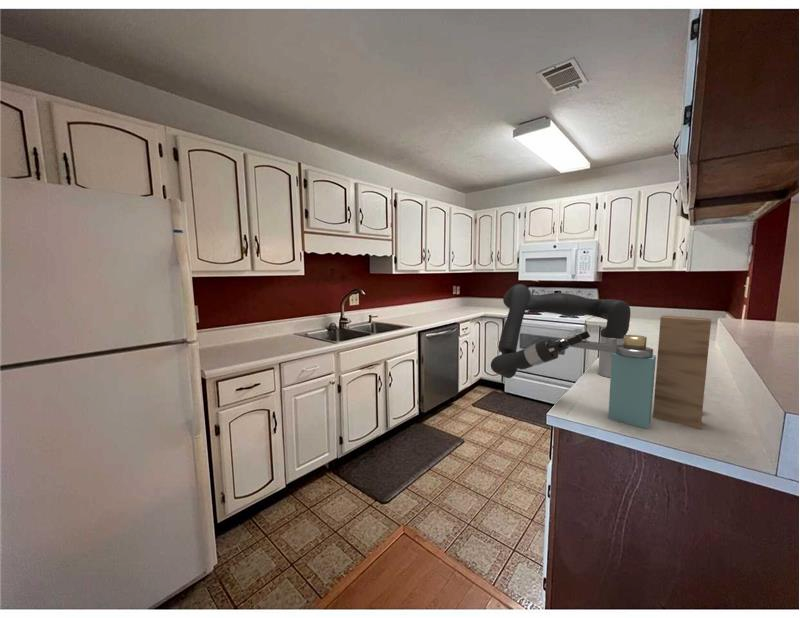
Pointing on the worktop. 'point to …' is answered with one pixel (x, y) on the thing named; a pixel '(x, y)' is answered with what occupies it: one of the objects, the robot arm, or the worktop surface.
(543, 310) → the robot arm
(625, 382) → the tall block
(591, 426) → the worktop surface
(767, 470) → the worktop surface
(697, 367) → the tall stand
